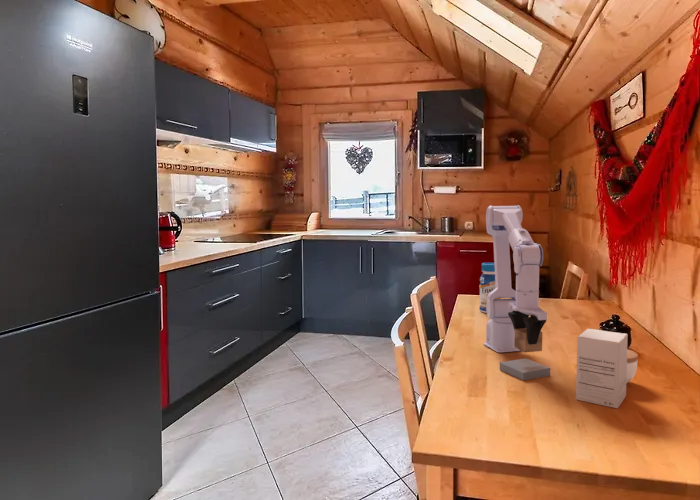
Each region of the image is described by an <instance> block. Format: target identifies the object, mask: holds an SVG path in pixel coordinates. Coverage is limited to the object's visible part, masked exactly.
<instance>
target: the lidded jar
mask: <svg viewBox="0 0 700 500" xmlns="http://www.w3.org/2000/svg"><path fill="white" fill-rule="evenodd" d="M638 360H639V354H638V353H637V352H636V351H633V350H631V349H628V348H627V376H626V384H627V383H629V382H630V381H632V380H633V379H634V377H635V376H636V372H637V368H638Z"/></svg>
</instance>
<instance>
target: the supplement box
mask: <svg viewBox="0 0 700 500" xmlns="http://www.w3.org/2000/svg"><path fill="white" fill-rule="evenodd" d="M628 337H629V335H628V333H625V332H624V333H622V332H616V331H615V332H614V331H610V330H609V331H608V330H601V329H595V328H586V329H585V330H584V331H583V332H582V333H580V334H579V335H578V336H577V337H576V338H577V341H576V343H577V344H576V346H577V347H576V349H577V350H576V377H575V379H576V382H575V384H576V385H575V400H577V401H581V402H586V403H590V404H596V405H600V406H605V407H608V408H613V409H619V407H620V406H621V404H622V403H623V402H624V400H625V398H626V396H627V383H626V376H627V349H628V342H629V341H628Z"/></svg>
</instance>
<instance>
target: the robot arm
mask: <svg viewBox="0 0 700 500" xmlns="http://www.w3.org/2000/svg"><path fill="white" fill-rule="evenodd" d="M523 216H524V215H523V209H522V206H521V205H519V204H517V205H489V206H487V207H486V212H485V224H486V225H485V226H486V233H487V234H488V235H490V236H491V237H492V238H491V239H492V241H493V261H494V262H493V263H494V265H495V285H496V288H495V289H494V290H493V291H491V292H490V293H489V294H488V296H487V304H486V312H487V313H486V316H487V318H488V319H489V320H488V321H487V323H486V325H485V326H486V327H485V328H486V329H485V330H486V331H485V332H486V334H485V335H486V337H485V339H486V340H485V341H486V342H484V343H483V345H484V346H485V347H488V348H489V349H491V350H493V351H495V352H497V353H510V352H522V351H521V350H519V349H517V348H515V347H514V340H515V329H521V328H526V330H527V340H528V344H530V345H531V344H537V341H538V337H539V334H540V331H541V332H542V330H543V329H542V328H543V327H544V325H545V324H546V322H547V320H548V312H547V311H545V310H543V309H542V308H540V305H539V303H540V302H539V301H540V300H539V299H540V298H539V296H540V295H539V294H540V289H539V288H540V267H542V265H543V262H544V250H543V247H542V245H541V244H539V243H537V242H536V243H535V242H534V240H533V238H532V237H531V235H530V233H529V231H528V230H527V229H525V228H523V227H522V222H523V219H524V218H523ZM510 247H511V250H512V252H513V253H512V258H513V264H514V265H513V269H514V273H515V289H513V288H512V270H511V254H510V253H511V252H510ZM495 298H500V299H495Z"/></svg>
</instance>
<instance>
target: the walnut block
mask: <svg viewBox="0 0 700 500" xmlns="http://www.w3.org/2000/svg"><path fill="white" fill-rule="evenodd" d="M514 347H515V348H517V349H519V350H521V351H520V352H523V353H532V352H533V353H535V352H536V353H537V352H542V351H543V332H542V330H541V331H540V334H539V337H538V341H537V344H531V345H530V344H528V340H527V330H526V328H521V329H515V340H514Z"/></svg>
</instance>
